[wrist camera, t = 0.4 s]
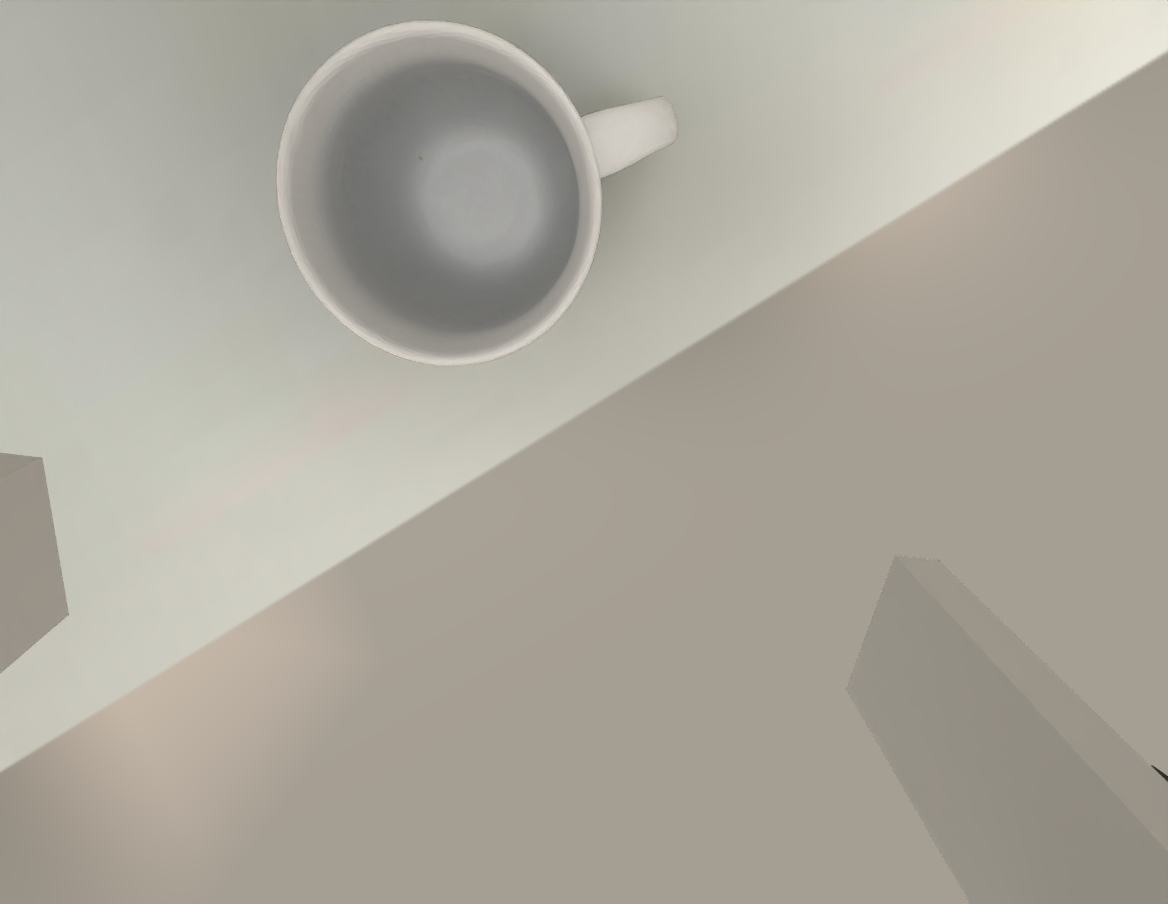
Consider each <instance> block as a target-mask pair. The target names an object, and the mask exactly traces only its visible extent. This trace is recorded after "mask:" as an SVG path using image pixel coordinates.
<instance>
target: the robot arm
mask: <svg viewBox="0 0 1168 904" xmlns="http://www.w3.org/2000/svg"><path fill="white" fill-rule="evenodd" d="M68 615H69V613H68V607H67V601H66V595H65V589H64V583H63V578H62V572H61V566H60V560H59V554H58V548H57V542H56V536H55V530H54V524H53V518H52V512H51V507H50V501H49V495H48V489H47V483H46V477H45V471H44V465H43V459H42V458H41V457H32V456H23V455H14V454H6V453H0V673H1V672H3V671H4V670H5V669H6V668H7V667H8V666H10V665H11V664H12V663H13V662H14V661H15V660H17V659H18V658H19V657H20V656H21V655H22V654H24V653H25V652H26V651H27V650H28V649H29V648H31V647H32V646H33V645H34V644H35V643H36V642H38V641H39V640H40V639H41V638H42V637H43V636H44V635H46V634H47V633H48V632H49V631H50V630H51V629H53V628H54V627H55V626H56V625H57V624H58V623H60V622H61V621H62V620H63V619H64V618H65V617H67V616H68ZM846 690H847V691H848V693H849V695H850V696H851V698H852V700H853V702H854V703H855V705H856V707H857V709H858V710H859V712H860V714H861V715H862V717H863V719H864V721H865V723H866V724H867V726H868V728H869V730H870V731H871V733H872V735H873V737H874V738H875V740H876V742H877V743H878V745H879V747H880V749H881V750H882V752H883V754H884V756H885V757H886V759H887V761H888V762H889V764H890V766H891V768H892V769H893V771H894V773H895V775H896V777H897V778H898V780H899V782H900V783H901V785H902V787H903V789H904V790H905V792H906V794H907V796H908V797H909V799H910V801H911V803H912V804H913V806H914V808H915V810H916V811H917V813H918V815H919V816H920V818H921V820H922V822H923V823H924V825H925V827H926V829H927V830H928V832H929V834H930V836H931V837H932V839H933V841H934V842H935V844H936V846H937V848H938V849H939V851H940V853H941V855H942V856H943V858H944V860H945V862H946V863H947V865H948V867H949V869H950V870H951V872H952V874H953V876H954V877H955V879H956V881H957V883H958V884H959V886H960V888H961V890H962V891H963V893H964V895H965V896H966V898H967V900H968V901H969V903H970V904H1168V776H1167V775H1165V774H1164V773H1163V772H1161V771H1160V770H1158V769H1157V768H1155V767H1154V766H1151V765H1150V764H1148V763H1147V762H1146V761H1145V760H1144V759H1143V758H1142V757H1141V756H1140V755H1139V754H1138V753H1137V752H1136V751H1135V750H1134V749H1133V748H1132V747H1131V746H1130V745H1129V744H1128V743H1127V742H1126V741H1125V740H1124V739H1123V738H1121V736H1120V735H1119V734H1117V732H1116V731H1115V730H1114V729H1113V728H1111V727H1110V726H1109V725H1108V724H1107V723H1106V722H1105V721H1104V720H1103V719H1102V718H1101V717H1100V716H1099V715H1098V714H1097V713H1096V712H1095V711H1094V710H1093V709H1092V708H1091V707H1090V706H1089V705H1088V704H1087V703H1086V702H1085V701H1084V700H1083V699H1082V698H1081V697H1080V696H1079V695H1077V694H1076V693H1075V692H1074V691H1073V690H1072V689H1071V688H1070V687H1069V686H1068V685H1067V684H1066V683H1065V682H1064V681H1063V680H1062V679H1061V678H1060V677H1059V676H1058V675H1057V674H1056V673H1055V672H1054V671H1053V670H1052V669H1051V668H1050V667H1049V666H1048V665H1047V664H1046V663H1045V662H1044V661H1043V660H1042V659H1040V658H1039V657H1038V656H1037V655H1036V654H1035V653H1034V652H1033V651H1032V650H1031V649H1030V648H1029V647H1028V646H1027V645H1026V644H1025V643H1024V642H1023V641H1022V640H1021V639H1020V638H1019V637H1018V636H1017V635H1016V634H1015V633H1014V632H1012V630H1010V628H1009V627H1008V626H1007V625H1005V624H1004V623H1003V622H1002V621H1001V620H1000V619H999V618H998V617H997V616H996V615H995V614H994V613H993V612H992V611H991V610H990V609H989V608H988V607H987V606H986V605H985V604H984V603H983V602H982V601H981V600H980V599H979V598H978V597H977V596H976V595H975V594H974V593H973V592H971V591H970V590H969V589H968V588H967V587H966V586H965V585H964V584H963V583H962V582H961V581H960V580H959V579H958V578H957V577H956V576H955V575H954V574H953V573H952V572H951V571H950V570H949V569H948V568H947V567H946V566H945V565H944V564H943V563H942V562H941V561H940V560H934V559H933V560H932V559H925V558H916V557H907V556H899V555H895V556H894V559H893V562H892V565H891V567H890V570H889V573H888V575H887V578H886V581H885V584H884V587H883V590H882V592H881V595H880V597H879V600H878V603H877V606H876V608H875V611H874V614H873V616H872V619H871V622H870V625H869V627H868V630H867V633H866V636H865V638H864V641H863V644H862V647H861V649H860V652H859V655H858V658H857V660H856V663H855V666H854V668H853V671H852V674H851V677H850V680H849V682H848V685H847V688H846Z"/></svg>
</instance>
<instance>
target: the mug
mask: <svg viewBox="0 0 1168 904" xmlns="http://www.w3.org/2000/svg"><path fill="white" fill-rule="evenodd" d="M677 133H678V127H677V121H676V116H675V113H674V110H673V107H672V105H671V103H670V102H669V101H668V100H667V99H666V98H665V97H663V96H660V97H655V98H651V99H647V100H644V101H639V102H635V103H631V104H626V105H621V106H616V107H612V108H608V109H604V110H601V111H597V112H594V113H590V114H587V115H585V116H583V117H580V115H579V113H578V112H577V110H576V108H575V107H574V105H573V103H572V102H571V100H570V99H569V97H568V96H567V95H566V93H565V92H564V90H563V89H562V88H561V86H560V85H559V84H558V83H557V81H556V80H555V79H554V78H553V77H552V76H551V74H550V73H549V72H548V71H546V70H545V69H544V68H543V67H542V66H541V65H540V64H539V63H538V62H536V61H535V60H534V59H533V58H532V57H530V56H529V55H528V54H527V53H525V52H524V51H522V50H521V49H519V48H518V47H516V46H515V45H513V44H512V43H510V42H508V41H506V40H504V39H502V38H500V37H498V36H496V35H494V34H491V33H489V32H487V31H484V30H481V29H478V28H475V27H472V26H468V25H464V24H460V23H454V22H448V21H436V20H417V21H408V22H401V23H396V24H392V25H388V26H384V27H381V28H379V29H376V30H373V31H371V32H369V33H366V34H364V35H362V36H360V37H358V38H356V39H355V40H353V41H352V42H350V43H348V44H347V45H345V46H344V47H342V48H340V49H339V50H338V51H337V52H335V53H334V54H333V55H332V56H331V57H330V58H329V59H328V60H327V61H326V62H325V63H324V64H323V65H322V66H321V67H320V68H319V69H318V70H317V71H316V72H315V73H314V74H313V75H312V77H311V78H310V79H309V80H308V82H307V83H306V84H305V86H304V87H303V89H302V90H301V92H300V93H299V95H298V97H297V98H296V100H295V102H294V104H293V107H292V109H291V111H290V113H289V115H288V117H287V120H286V123H285V126H284V129H283V132H282V137H281V141H280V146H279V151H278V156H277V167H276V192H277V202H278V209H279V214H280V220H281V223H282V227H283V230H284V234H285V237H286V240H287V243H288V246H289V249H290V251H291V253H292V256H293V258H294V260H295V262H296V264H297V266H298V268H299V270H300V271H301V273H302V275H303V277H304V279H305V280H306V282H307V283H308V285H309V287H310V288H311V289H312V291H313V292H314V293H315V295H316V296H317V297H318V299H319V300H320V301H321V302H322V303H323V305H324V306H325V307H326V308H327V309H328V310H329V311H330V312H331V313H332V314H333V315H334V316H335V317H336V318H337V319H338V320H339V321H340V322H341V323H342V324H344V325H345V326H346V327H347V328H349V329H350V330H351V331H352V332H353V333H355V334H356V335H358V336H359V337H361V338H362V339H364V340H365V341H367V342H369V343H370V344H372V345H374V346H376V347H378V348H380V349H382V350H384V351H386V352H388V353H391V354H393V355H396V356H398V357H401V358H404V359H407V360H411V361H415V362H419V363H425V364H430V365H441V366H459V365H471V364H478V363H483V362H488V361H491V360H495V359H498V358H501V357H504V356H506V355H509V354H511V353H513V352H516V351H518V350H520V349H521V348H523V347H525V346H527V345H528V344H530V343H531V342H533V341H534V340H536V339H537V338H539V337H540V336H541V335H542V334H544V333H545V332H546V331H547V330H548V329H550V328H551V327H552V326H553V325H554V324H555V323H556V322H557V321H558V320H559V319H560V317H561V316H562V315H563V314H564V313H565V312H566V310H567V309H568V308H569V307H570V305H571V304H572V302H573V301H574V299H575V298H576V296H577V294H578V293H579V291H580V290H581V288H582V286H583V284H584V281H585V279H586V277H587V275H588V273H589V270H590V268H591V266H592V263H593V259H594V256H595V253H596V250H597V245H598V240H599V235H600V228H601V221H602V188H601V178H604V177H607V176H609V175H611V174H613V173H616V172H618V171H620V170H622V169H624V168H626V167H628V166H630V165H632V164H634V163H635V162H637V161H639V160H641V159H643V158H644V157H646V156H648V155H650V154H651V153H653V152H656V151H658V150H660V149H663V148H665V147H667V146H669V145H670V144H672V143H673V142H674V141H675V140H676V138H677Z"/></svg>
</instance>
